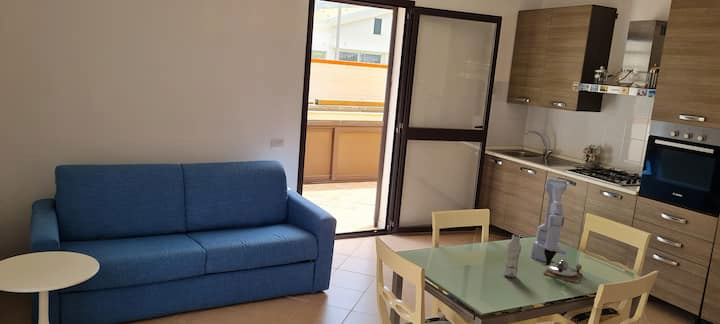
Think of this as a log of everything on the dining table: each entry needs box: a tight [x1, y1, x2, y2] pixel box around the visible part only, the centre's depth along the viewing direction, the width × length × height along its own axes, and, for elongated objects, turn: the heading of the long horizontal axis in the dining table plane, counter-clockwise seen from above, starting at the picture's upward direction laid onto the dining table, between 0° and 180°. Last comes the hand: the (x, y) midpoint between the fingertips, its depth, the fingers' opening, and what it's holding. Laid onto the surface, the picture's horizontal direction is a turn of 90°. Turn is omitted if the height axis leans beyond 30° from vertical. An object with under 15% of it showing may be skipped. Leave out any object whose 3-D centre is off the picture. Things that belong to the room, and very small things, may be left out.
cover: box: [556, 259, 569, 270], centre depth 275 cm, size 5×5×4 cm
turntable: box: [546, 262, 577, 277], centre depth 275 cm, size 14×14×6 cm
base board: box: [543, 263, 583, 285], centre depth 274 cm, size 16×16×5 cm
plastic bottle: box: [502, 234, 522, 278], centre depth 262 cm, size 6×7×20 cm
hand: (548, 265), depth 272 cm, fingers closed
